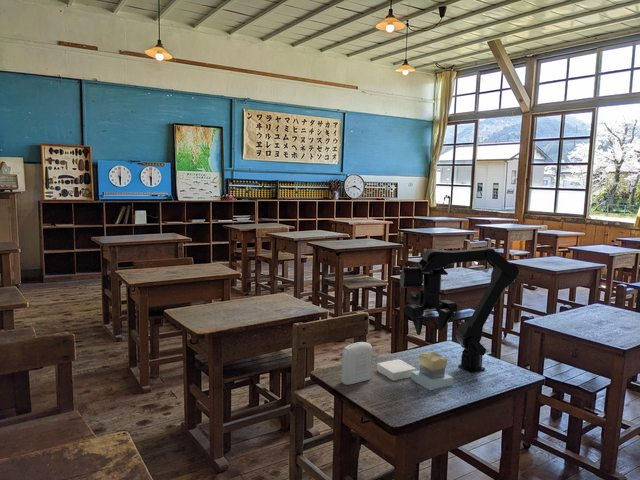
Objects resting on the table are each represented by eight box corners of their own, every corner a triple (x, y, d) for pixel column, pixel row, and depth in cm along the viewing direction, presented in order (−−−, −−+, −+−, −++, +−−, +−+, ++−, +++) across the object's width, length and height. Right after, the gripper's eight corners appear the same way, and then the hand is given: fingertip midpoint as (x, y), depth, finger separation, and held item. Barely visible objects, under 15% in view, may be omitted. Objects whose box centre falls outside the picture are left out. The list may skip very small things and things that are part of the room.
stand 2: (433, 374, 159) (433, 367, 158) (452, 385, 151) (452, 377, 150) (411, 379, 154) (411, 371, 154) (429, 390, 147) (430, 382, 146)
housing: (445, 376, 151) (446, 358, 150) (431, 380, 148) (432, 361, 147) (431, 369, 156) (432, 351, 156) (418, 372, 154) (419, 354, 153)
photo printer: (364, 374, 157) (366, 338, 156) (373, 379, 154) (374, 342, 152) (339, 381, 152) (340, 343, 150) (347, 386, 148) (348, 347, 146)
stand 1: (398, 366, 165) (399, 359, 165) (415, 375, 157) (415, 368, 157) (377, 370, 161) (377, 363, 161) (393, 380, 153) (393, 373, 153)
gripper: (437, 280, 171) (434, 323, 173) (394, 284, 162) (392, 329, 164) (459, 287, 161) (457, 332, 163) (415, 292, 153) (412, 339, 155)
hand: (429, 333), depth 162 cm, fingers open, 9 cm apart
